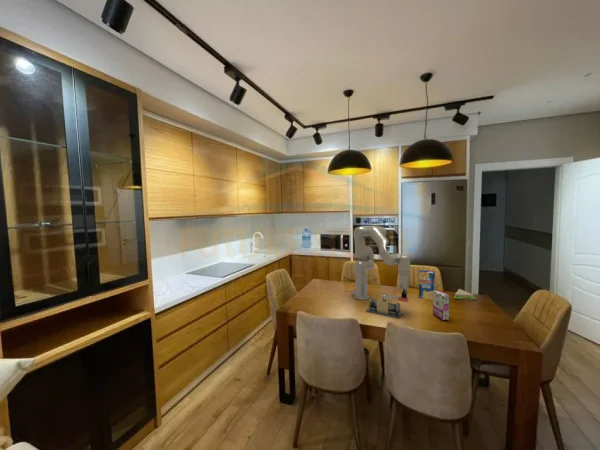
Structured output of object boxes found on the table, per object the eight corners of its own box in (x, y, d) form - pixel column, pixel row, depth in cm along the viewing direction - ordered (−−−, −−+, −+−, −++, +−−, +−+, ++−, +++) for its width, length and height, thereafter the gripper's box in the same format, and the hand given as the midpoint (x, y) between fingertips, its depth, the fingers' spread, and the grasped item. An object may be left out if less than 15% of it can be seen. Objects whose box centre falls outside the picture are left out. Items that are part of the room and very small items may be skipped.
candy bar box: (449, 320, 170) (450, 295, 169) (442, 320, 169) (442, 295, 168) (439, 313, 181) (439, 290, 180) (432, 313, 180) (432, 290, 180)
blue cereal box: (433, 300, 207) (434, 273, 206) (418, 298, 213) (418, 271, 212) (434, 298, 213) (435, 271, 212) (420, 295, 219) (420, 270, 218)
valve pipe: (365, 311, 187) (365, 297, 186) (371, 306, 196) (371, 293, 195) (398, 318, 173) (398, 303, 173) (403, 313, 182) (403, 298, 182)
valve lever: (381, 297, 184) (381, 294, 184) (382, 296, 186) (382, 293, 186) (407, 302, 173) (407, 299, 173) (408, 300, 176) (408, 298, 175)
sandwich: (473, 295, 217) (474, 290, 217) (475, 303, 200) (475, 296, 200) (452, 293, 225) (452, 287, 224) (452, 300, 208) (452, 294, 208)
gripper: (401, 270, 189) (401, 295, 190) (395, 274, 177) (395, 300, 178) (412, 271, 185) (412, 296, 186) (407, 275, 173) (406, 303, 174)
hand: (404, 298), depth 182 cm, fingers closed
